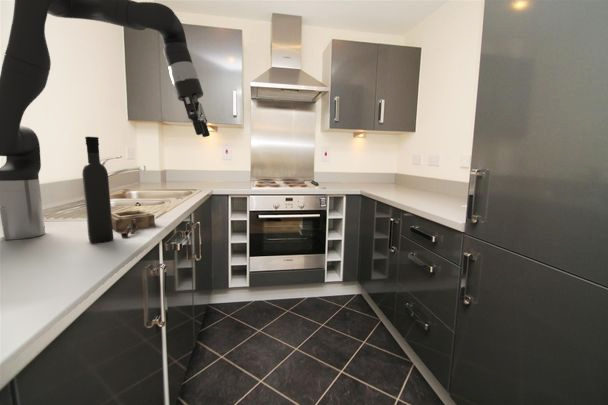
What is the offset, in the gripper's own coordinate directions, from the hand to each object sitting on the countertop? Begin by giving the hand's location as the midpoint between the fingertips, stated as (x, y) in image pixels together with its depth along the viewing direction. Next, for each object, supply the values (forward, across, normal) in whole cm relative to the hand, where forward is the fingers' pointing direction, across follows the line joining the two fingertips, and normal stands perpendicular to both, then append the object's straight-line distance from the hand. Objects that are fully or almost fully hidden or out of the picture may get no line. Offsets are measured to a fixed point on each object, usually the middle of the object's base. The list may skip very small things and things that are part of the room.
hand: (203, 135), depth 89 cm
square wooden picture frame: (+22, -14, -37) cm, 45 cm away
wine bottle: (+22, +4, -37) cm, 43 cm away
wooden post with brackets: (+24, -2, -32) cm, 40 cm away
